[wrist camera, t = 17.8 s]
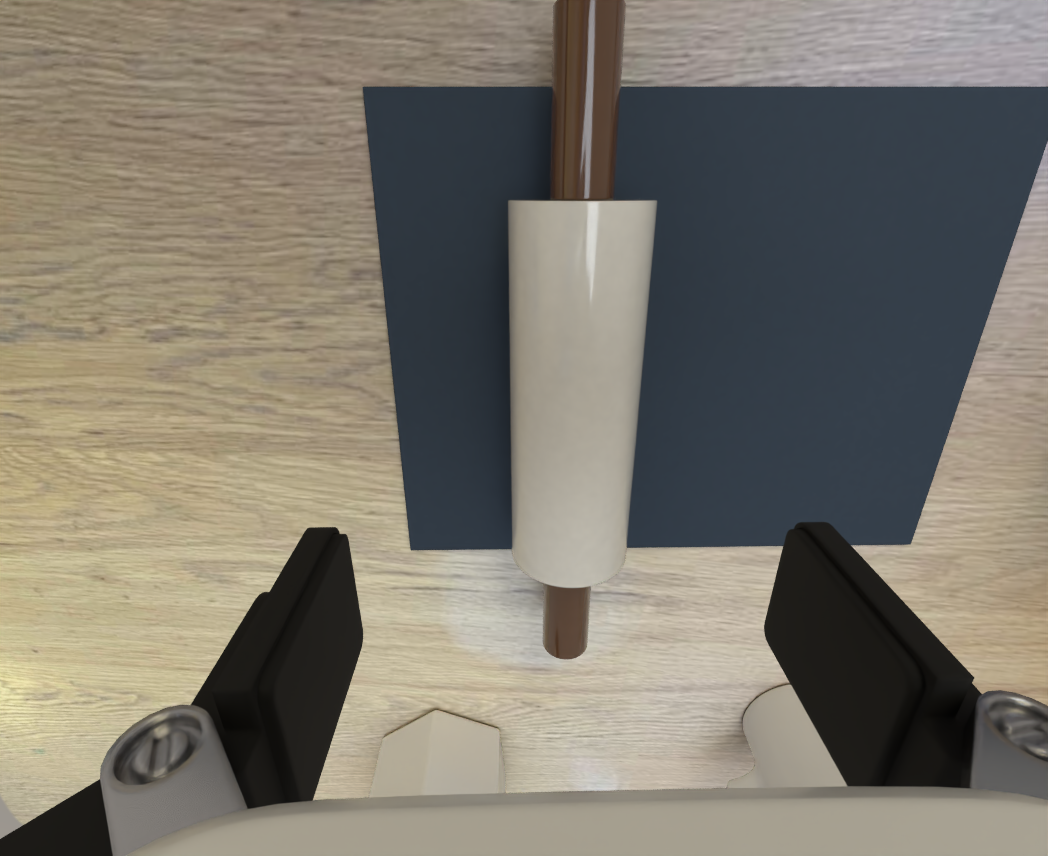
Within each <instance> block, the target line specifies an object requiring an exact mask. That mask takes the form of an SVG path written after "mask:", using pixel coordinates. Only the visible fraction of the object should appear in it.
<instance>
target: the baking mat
mask: <svg viewBox="0 0 1048 856" xmlns="http://www.w3.org/2000/svg"><path fill="white" fill-rule="evenodd" d="M363 94H364V104H365V113H366V123H367V133H368V142H369V152H370V162H371V171H372V181H373V191H374V200H375V210H376V220H377V229H378V239H379V249H380V258H381V268H382V278H383V287H384V297H385V307H386V316H387V326H388V336H389V345H390V355H391V365H392V374H393V384H394V394H395V403H396V413H397V423H398V432H399V442H400V452H401V461H402V471H403V480H404V490H405V500H406V509H407V519H408V529H409V538H410V548H411V550H467V549H512V521H511V441H510V361H509V281H508V200H515V199H550V163H551V102H552V87H363ZM1047 141H1048V87H621V91H620V107H619V124H618V141H617V157H616V174H615V191H614V199H651V200H658V205H657V216H656V227H655V238H654V249H653V260H652V272H651V283H650V294H649V305H648V316H647V327H646V338H645V349H644V361H643V372H642V383H641V394H640V405H639V416H638V427H637V438H636V450H635V461H634V472H633V483H632V494H631V505H630V516H629V527H628V539H627V548H642V547H730V546H784V542H785V538H786V534H787V532H788V531H789V530H790V529H794V527H795V525H796V524H797V523H799V522H828V523H830V524H831V525H832V526H833V527H834V528H835V529H836V530H837V531H838V532H839V533H840V535H841V536H842V537H843V538H844V539H845V540H846V541H847V542H848V543H849V544H850V545H905V544H911V542H912V539H913V536H914V533H915V530H916V527H917V524H918V521H919V518H920V515H921V512H922V509H923V506H924V503H925V500H926V497H927V495H928V492H929V489H930V486H931V483H932V480H933V477H934V474H935V471H936V468H937V465H938V462H939V459H940V456H941V453H942V450H943V447H944V444H945V442H946V439H947V436H948V433H949V430H950V427H951V424H952V421H953V418H954V415H955V412H956V409H957V406H958V403H959V400H960V397H961V394H962V391H963V388H964V386H965V383H966V380H967V377H968V374H969V371H970V368H971V365H972V362H973V359H974V356H975V353H976V350H977V347H978V344H979V341H980V338H981V335H982V333H983V330H984V327H985V324H986V321H987V318H988V315H989V312H990V309H991V306H992V303H993V300H994V297H995V294H996V291H997V288H998V285H999V282H1000V279H1001V277H1002V274H1003V271H1004V268H1005V265H1006V262H1007V259H1008V256H1009V253H1010V250H1011V247H1012V244H1013V241H1014V238H1015V235H1016V232H1017V229H1018V226H1019V223H1020V221H1021V218H1022V215H1023V212H1024V209H1025V206H1026V203H1027V200H1028V197H1029V194H1030V191H1031V188H1032V185H1033V182H1034V179H1035V176H1036V173H1037V170H1038V168H1039V165H1040V162H1041V159H1042V156H1043V153H1044V150H1045V147H1046V144H1047Z"/></svg>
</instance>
